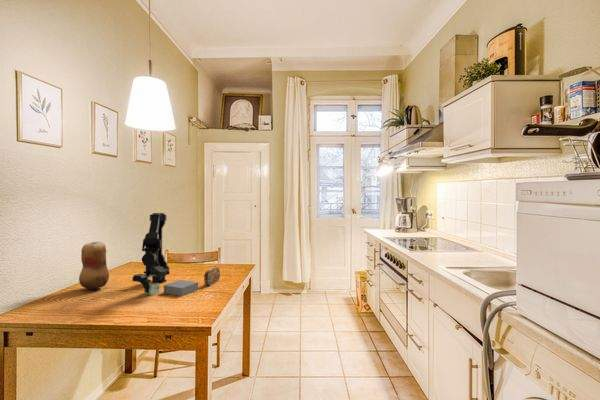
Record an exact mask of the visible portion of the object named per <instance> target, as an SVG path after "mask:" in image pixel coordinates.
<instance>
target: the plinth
mask: <svg viewBox="0 0 600 400" xmlns="http://www.w3.org/2000/svg"><path fill="white" fill-rule="evenodd" d="M198 290H199V282H198V281H193V280H186V279H179V280H176V281H172V282H169V283H167V284H164V285H163V293H164V294H168V295H174V296H179V297H183V296H186V295H188V294H191V293H193V292H196V291H198Z"/></svg>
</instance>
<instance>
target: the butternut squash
mask: <svg viewBox="0 0 600 400" xmlns="http://www.w3.org/2000/svg"><path fill="white" fill-rule="evenodd" d="M80 253H81V255H80V258H81V263H82V268H81V271H80V274H79V277H78V281H79V285H80V286H81V287H83V288H84V289H87V290H90V291H91V290H92V291H95V290H98V289H100V288H103V287H105V286H106V284H108V282H109V278H110V272H109V269H108V266H107V265H108V264H107V248H106V244H105V243H104V242H102V241H92V242H88V243H86V244H84V245H83V246H82V247H81V252H80Z"/></svg>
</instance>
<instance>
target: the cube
mask: <svg viewBox="0 0 600 400" xmlns="http://www.w3.org/2000/svg"><path fill="white" fill-rule="evenodd" d="M143 294H144V295H146V296H154V295H157V294H160V283H155V282H149V293H146V291H145V289H144V288H143Z"/></svg>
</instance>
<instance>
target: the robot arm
mask: <svg viewBox="0 0 600 400" xmlns="http://www.w3.org/2000/svg"><path fill="white" fill-rule="evenodd" d="M167 218H168V217H167V214H165V212H153V213H152V214H149V222H150V225H149V229H148V232H147V233H146V234H145V236H144V238H143V240H142V246H141V252H144V254H143V255H142V257H141V262H142V264H143V266H145V270H144V271H143V273H138V274H137V273H136V274H134V275H133V276H132V282H136V283H140V284H141V285H142V287H143V290H144V289H145V291H146V293H149V283H150V282H155V283H159V284H161V283H164V282H167V279H166V276H167V275H169V274H170V266H169V265H168V263H167V260H166V257H165V256H164V254H163V228H164V226H165V225H166V222H167V220H168V219H167ZM151 277H152V278H151ZM150 278H151V279H152V280H151V279H150Z"/></svg>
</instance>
